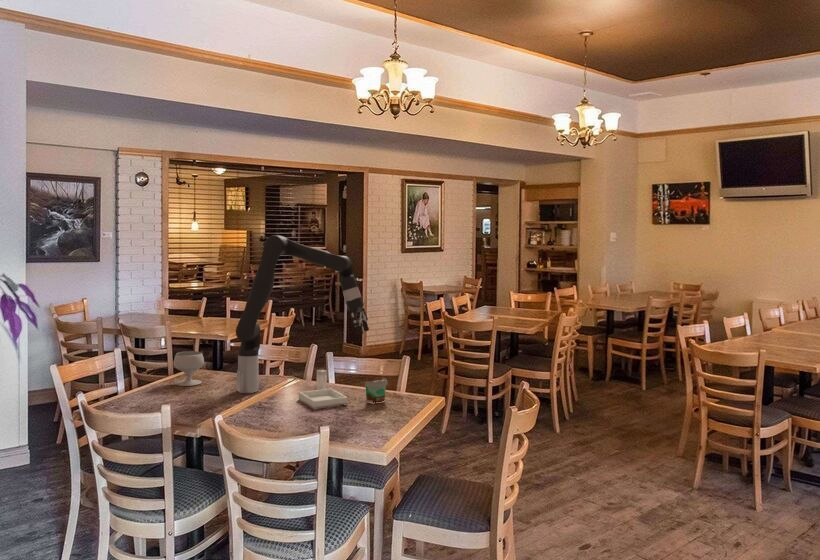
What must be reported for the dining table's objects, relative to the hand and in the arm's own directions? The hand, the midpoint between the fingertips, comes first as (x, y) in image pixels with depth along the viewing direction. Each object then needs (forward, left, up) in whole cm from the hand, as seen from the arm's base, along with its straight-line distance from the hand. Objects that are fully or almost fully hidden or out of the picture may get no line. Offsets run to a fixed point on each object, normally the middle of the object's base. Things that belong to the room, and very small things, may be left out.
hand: (364, 332), depth 290 cm
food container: (+3, -10, -30) cm, 32 cm away
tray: (-19, +1, -30) cm, 36 cm away
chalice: (-63, +62, -30) cm, 93 cm away
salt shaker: (-12, +19, -30) cm, 37 cm away
